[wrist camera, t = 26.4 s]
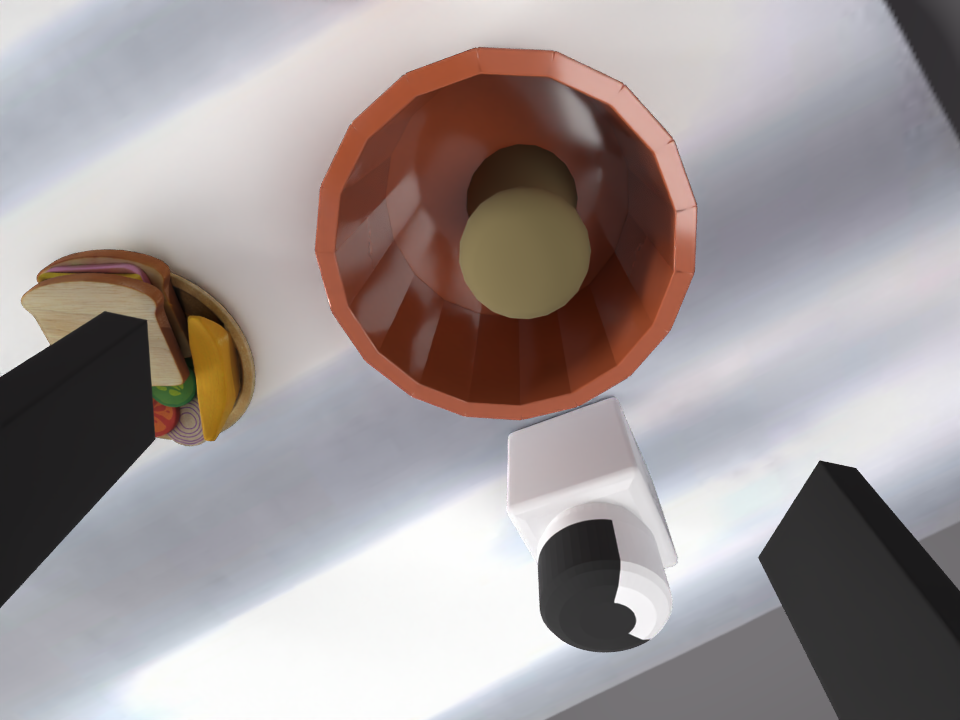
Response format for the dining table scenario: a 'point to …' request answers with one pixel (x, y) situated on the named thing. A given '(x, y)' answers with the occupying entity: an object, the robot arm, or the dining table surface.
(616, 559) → the container
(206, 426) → the toy sandwich meal
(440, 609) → the dining table surface
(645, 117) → the pot
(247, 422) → the dining table surface
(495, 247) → the olive pawn figure
